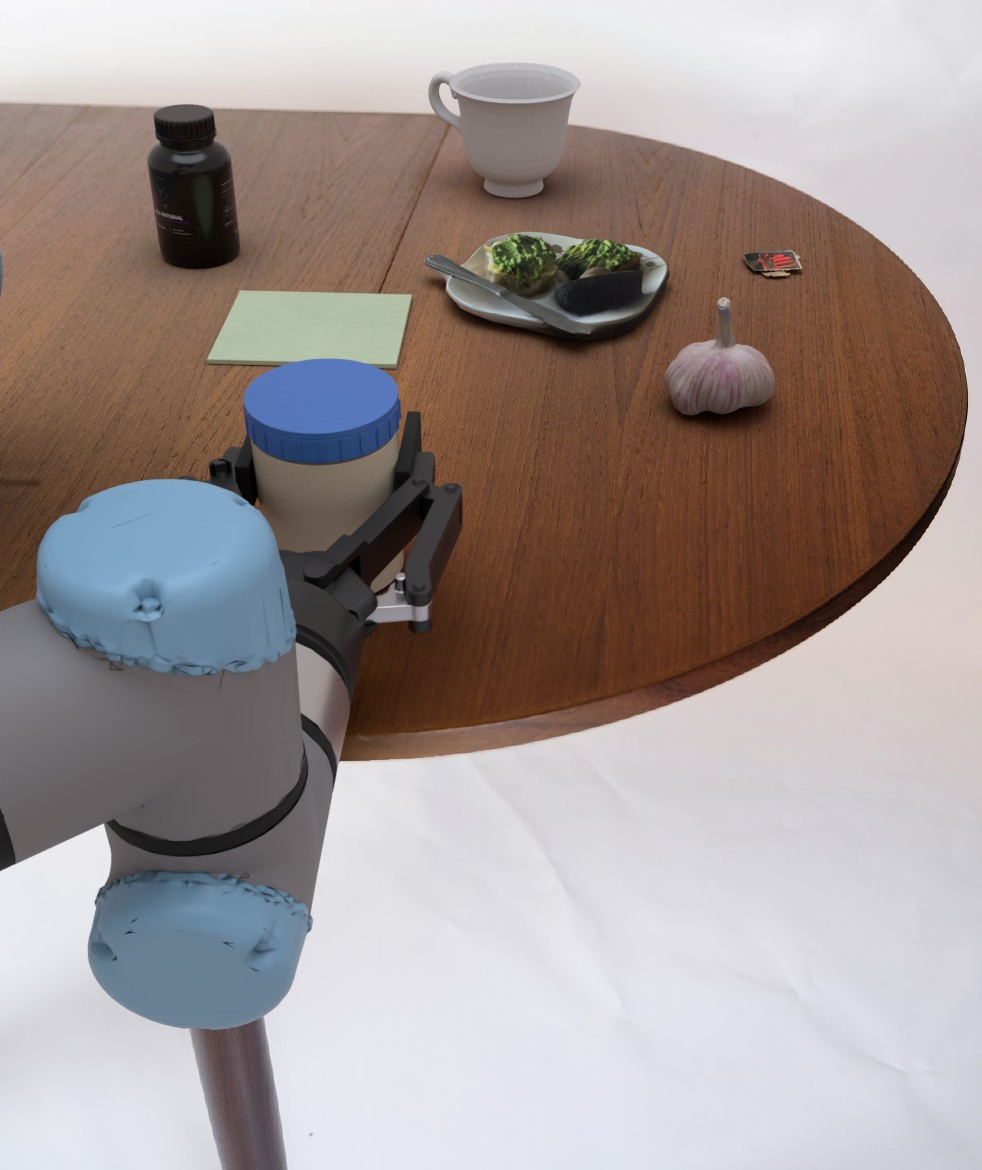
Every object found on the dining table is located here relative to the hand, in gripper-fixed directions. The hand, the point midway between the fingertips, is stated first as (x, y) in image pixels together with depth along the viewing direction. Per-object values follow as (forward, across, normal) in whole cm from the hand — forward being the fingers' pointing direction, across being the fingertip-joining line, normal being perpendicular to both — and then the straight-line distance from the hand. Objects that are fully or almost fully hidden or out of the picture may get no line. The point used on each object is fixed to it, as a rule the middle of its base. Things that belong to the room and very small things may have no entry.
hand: (340, 429), depth 75 cm
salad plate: (+32, +13, -6) cm, 35 cm away
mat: (+25, -6, -6) cm, 27 cm away
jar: (-5, 0, -6) cm, 8 cm away
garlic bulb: (+15, +24, -6) cm, 29 cm away
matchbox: (+39, +31, -6) cm, 50 cm away
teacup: (+57, +7, -6) cm, 58 cm away
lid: (-5, 0, +5) cm, 7 cm away
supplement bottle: (+39, -18, -6) cm, 44 cm away
